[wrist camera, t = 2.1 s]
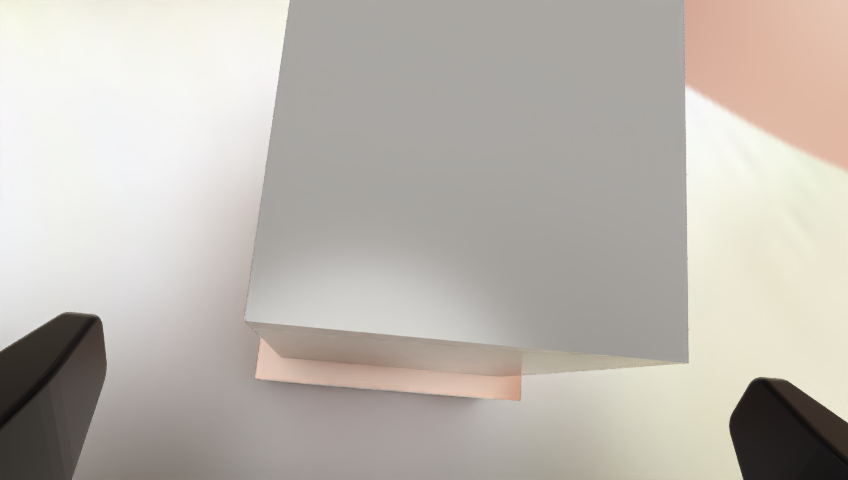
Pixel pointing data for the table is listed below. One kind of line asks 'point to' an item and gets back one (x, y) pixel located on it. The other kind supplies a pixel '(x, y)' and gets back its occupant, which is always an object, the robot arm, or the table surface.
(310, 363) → the plinth
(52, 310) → the table surface
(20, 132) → the table surface
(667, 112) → the slate block
